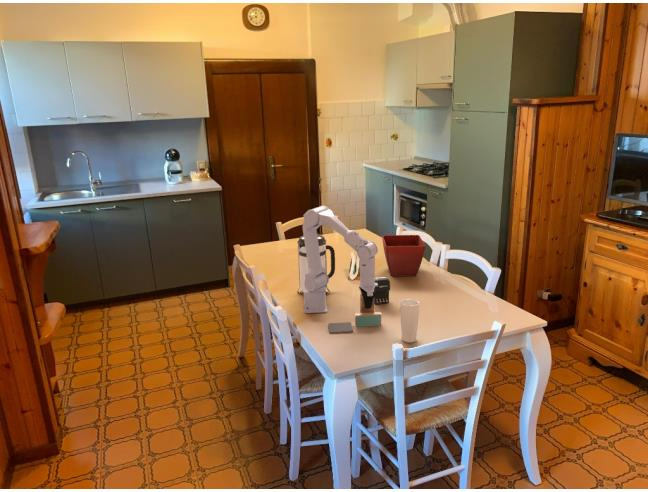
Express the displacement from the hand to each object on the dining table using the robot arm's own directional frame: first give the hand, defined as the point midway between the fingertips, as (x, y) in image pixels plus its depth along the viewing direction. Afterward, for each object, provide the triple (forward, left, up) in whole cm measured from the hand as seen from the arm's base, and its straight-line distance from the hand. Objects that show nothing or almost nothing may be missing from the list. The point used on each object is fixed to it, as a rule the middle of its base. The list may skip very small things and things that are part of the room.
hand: (367, 306), depth 195 cm
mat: (-11, -4, -7) cm, 14 cm away
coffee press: (-19, +34, -7) cm, 39 cm away
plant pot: (+26, +55, -7) cm, 61 cm away
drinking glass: (+13, -16, -7) cm, 22 cm away
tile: (0, -2, -7) cm, 7 cm away
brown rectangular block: (0, 0, -4) cm, 4 cm away
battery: (+9, +18, -7) cm, 21 cm away
